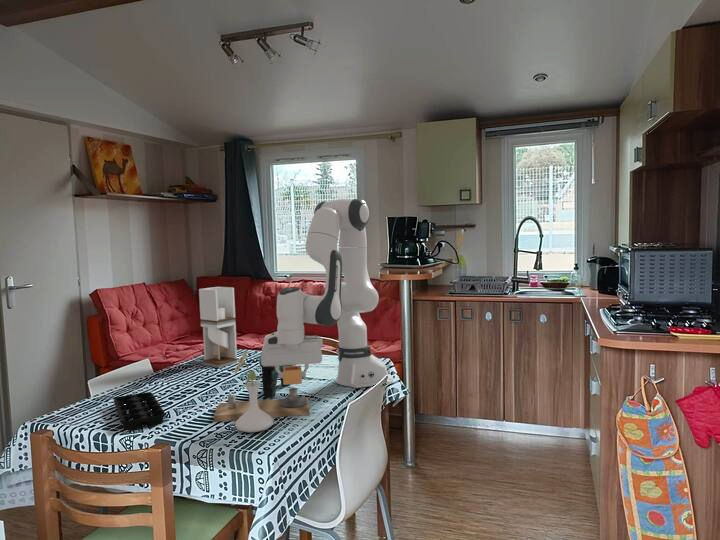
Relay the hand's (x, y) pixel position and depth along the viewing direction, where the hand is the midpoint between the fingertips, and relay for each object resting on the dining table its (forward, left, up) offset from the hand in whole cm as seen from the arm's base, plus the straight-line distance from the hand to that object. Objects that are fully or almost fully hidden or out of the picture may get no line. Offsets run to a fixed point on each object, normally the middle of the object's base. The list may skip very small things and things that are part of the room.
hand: (292, 377), depth 170 cm
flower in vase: (+12, +15, -11) cm, 22 cm away
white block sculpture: (+33, -71, -11) cm, 79 cm away
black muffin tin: (+51, -6, -12) cm, 53 cm away
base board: (+10, 0, -11) cm, 15 cm away
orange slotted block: (0, 0, -1) cm, 1 cm away
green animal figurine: (+6, -22, -11) cm, 25 cm away
